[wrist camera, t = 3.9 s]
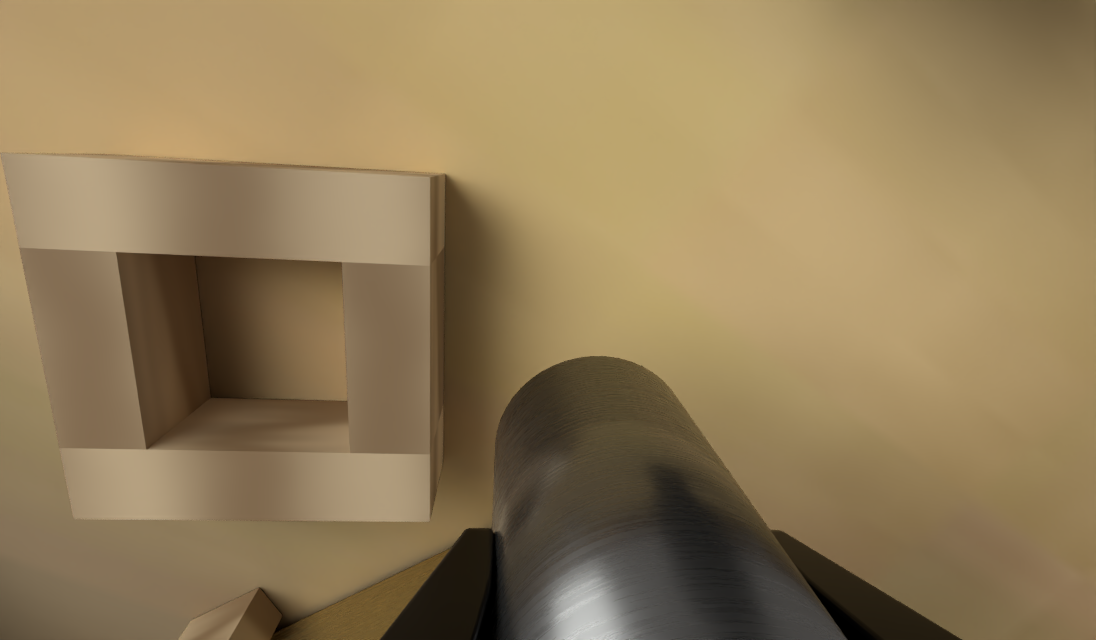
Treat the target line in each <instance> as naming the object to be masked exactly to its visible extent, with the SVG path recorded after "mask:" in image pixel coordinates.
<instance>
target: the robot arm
mask: <svg viewBox="0 0 1096 640" xmlns="http://www.w3.org/2000/svg"><path fill="white" fill-rule="evenodd" d="M771 532H772V533H773V535H774V536H775V538H776V539H777V540H778V542H779V543H780V545H781V546H782V547H783V549H784V550H785V552H786V553H787V555H788V556H789V557H790V559H791V560H792V562H793V563H794V565H795V566H796V567H797V569H798V570H799V572H800V573H801V574H802V576H803V577H804V579H805V580H806V582H807V583H808V584H809V586H810V587H811V589H812V590H813V592H814V593H815V594H816V596H817V597H818V599H819V600H820V601H821V603H822V604H823V606H824V607H825V609H826V610H827V611H828V613H829V614H830V616H831V617H832V618H833V620H834V621H835V623H836V624H837V626H838V627H839V628H840V630H841V631H842V633H843V634H844V636H845V637H846V638H847V640H962V639H960V638H959V637H957V636H955V635H954V634H952V633H950V632H949V631H947V630H945V629H944V628H942V627H940V626H939V625H937V624H935V623H934V622H932V621H930V620H929V619H927V618H925V617H924V616H922V615H921V614H919V613H917V612H916V611H914V610H912V609H911V608H909V607H907V606H906V605H904V604H902V603H901V602H899V601H897V600H896V599H894V598H892V597H891V596H889V595H887V594H886V593H884V592H882V591H881V590H879V589H877V588H876V587H874V586H872V585H871V584H869V583H867V582H866V581H864V580H862V579H861V578H859V577H857V576H856V575H854V574H852V573H851V572H849V571H847V570H846V569H844V568H843V567H841V566H839V565H838V564H836V563H834V562H833V561H831V560H829V559H828V558H826V557H824V556H823V555H821V554H819V553H818V552H816V551H814V550H813V549H811V548H809V547H808V546H806V545H804V544H803V543H801V542H799V541H798V540H796V539H794V538H793V537H791V536H789V535H788V534H786V533H784V532H783V531H780V530H771ZM493 541H494V532H493V530H492V529H489V528H468V529H466V530H465V531H464V532H463V533H462V535H461V536H460V537H459V539H458V540H457V541H456V542H455V544H454V545H453V546H452V548H451V549H450V550H449V551H448V553H447V554H446V555H445V556H444V558H443V559H442V560H441V562H440V563H439V564H438V565H437V567H436V568H435V569H434V571H433V572H432V573H431V574H430V576H429V577H428V578H427V580H426V581H425V582H424V583H423V585H422V586H421V587H420V589H419V590H418V591H417V592H416V594H415V595H414V596H413V598H412V599H411V600H410V601H409V603H408V604H407V605H406V607H405V608H404V609H403V610H402V612H401V613H400V614H399V615H398V617H397V618H396V619H395V621H394V622H393V623H392V624H391V626H390V627H389V628H388V630H387V631H386V632H385V633H384V635H383V636H382V637H381V639H380V640H488V630H489V620H490V610H491V596H492V570H493Z"/></svg>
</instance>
